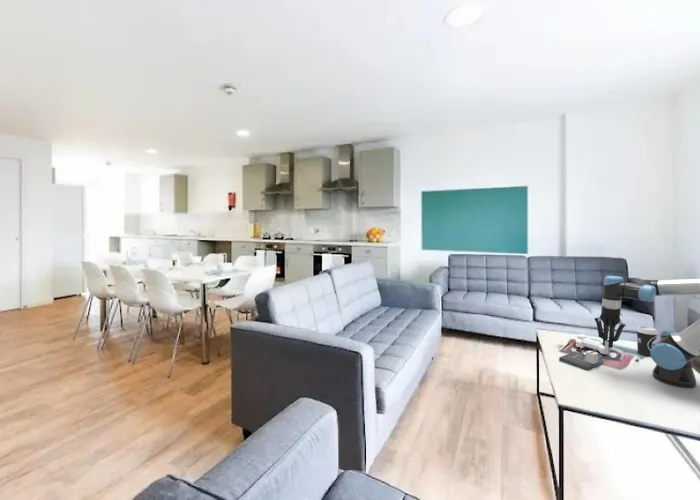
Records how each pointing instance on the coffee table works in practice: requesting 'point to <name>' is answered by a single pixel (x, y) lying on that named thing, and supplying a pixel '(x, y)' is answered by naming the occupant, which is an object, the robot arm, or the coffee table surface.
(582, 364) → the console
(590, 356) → the block
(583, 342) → the bone shaped toy
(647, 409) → the coffee table surface
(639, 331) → the coffee cup
